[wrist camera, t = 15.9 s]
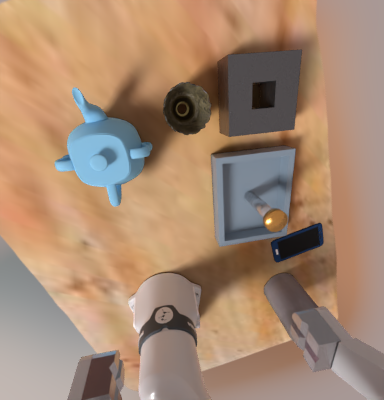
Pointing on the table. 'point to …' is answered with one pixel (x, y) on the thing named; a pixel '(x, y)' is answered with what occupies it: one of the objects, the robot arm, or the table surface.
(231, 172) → the tray
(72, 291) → the table surface
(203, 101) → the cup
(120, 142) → the teapot
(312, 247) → the cell phone
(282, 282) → the pillar candle
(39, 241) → the table surface
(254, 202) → the pin
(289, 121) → the block
